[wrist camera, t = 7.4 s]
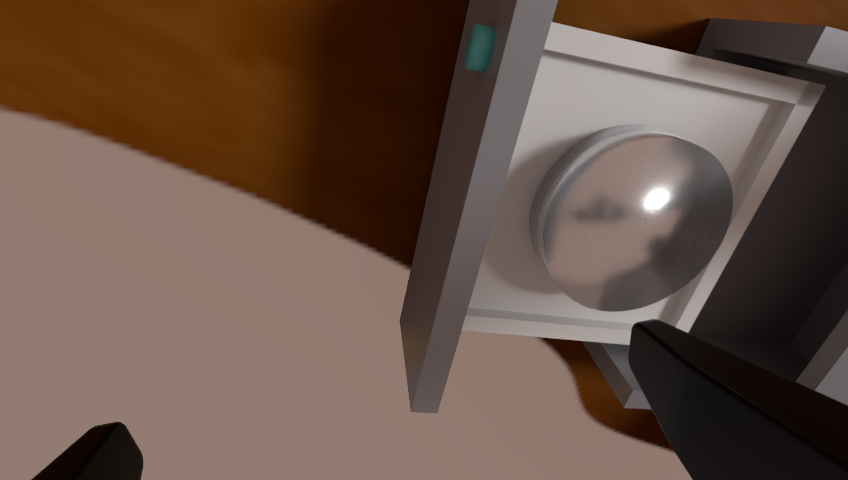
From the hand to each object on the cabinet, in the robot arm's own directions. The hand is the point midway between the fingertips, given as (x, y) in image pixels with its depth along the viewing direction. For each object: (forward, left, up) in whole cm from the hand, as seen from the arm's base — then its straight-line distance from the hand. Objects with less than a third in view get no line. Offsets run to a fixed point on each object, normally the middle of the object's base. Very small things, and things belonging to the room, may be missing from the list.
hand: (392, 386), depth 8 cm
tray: (-9, 0, -12) cm, 15 cm away
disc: (-10, 0, -10) cm, 14 cm away
